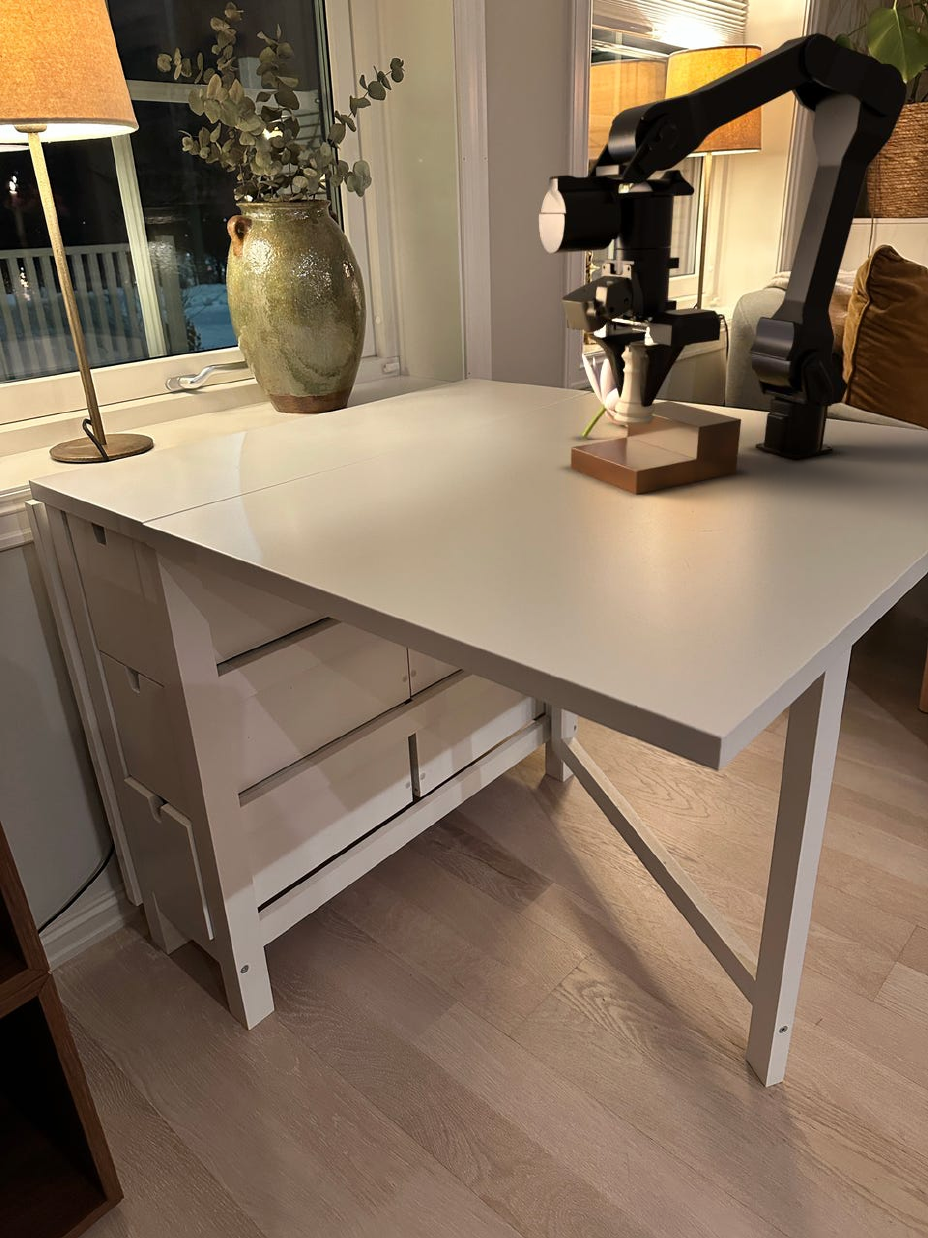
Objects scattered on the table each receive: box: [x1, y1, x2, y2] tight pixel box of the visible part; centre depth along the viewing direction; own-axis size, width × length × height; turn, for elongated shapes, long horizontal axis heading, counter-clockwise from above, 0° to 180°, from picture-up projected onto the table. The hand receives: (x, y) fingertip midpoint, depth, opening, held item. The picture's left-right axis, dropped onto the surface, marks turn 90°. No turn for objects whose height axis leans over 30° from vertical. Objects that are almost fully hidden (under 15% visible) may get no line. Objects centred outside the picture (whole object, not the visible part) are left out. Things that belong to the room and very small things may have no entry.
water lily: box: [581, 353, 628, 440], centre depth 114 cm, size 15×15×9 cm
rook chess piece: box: [614, 345, 655, 426], centre depth 95 cm, size 4×4×8 cm
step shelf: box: [570, 400, 742, 495], centre depth 99 cm, size 14×12×6 cm
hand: (635, 403), depth 96 cm, fingers closed on rook chess piece, 3 cm apart
